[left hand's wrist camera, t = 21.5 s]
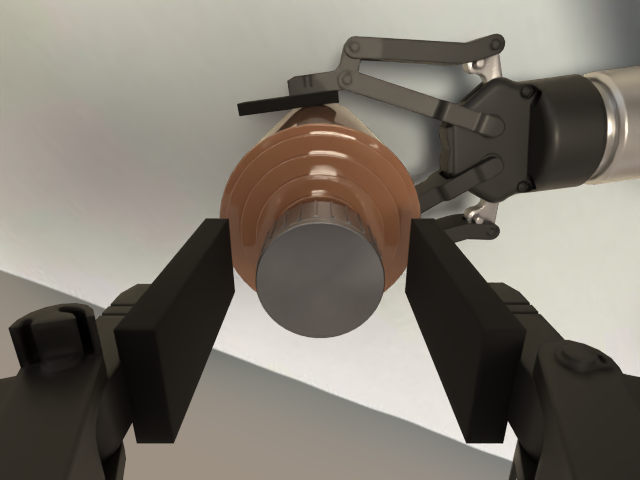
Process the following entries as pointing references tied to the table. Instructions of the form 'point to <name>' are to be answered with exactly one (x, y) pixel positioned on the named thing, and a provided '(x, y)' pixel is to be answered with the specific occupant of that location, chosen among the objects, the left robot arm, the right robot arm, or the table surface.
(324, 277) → the cap
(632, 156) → the right robot arm
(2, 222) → the table surface
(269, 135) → the bottle
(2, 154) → the table surface
